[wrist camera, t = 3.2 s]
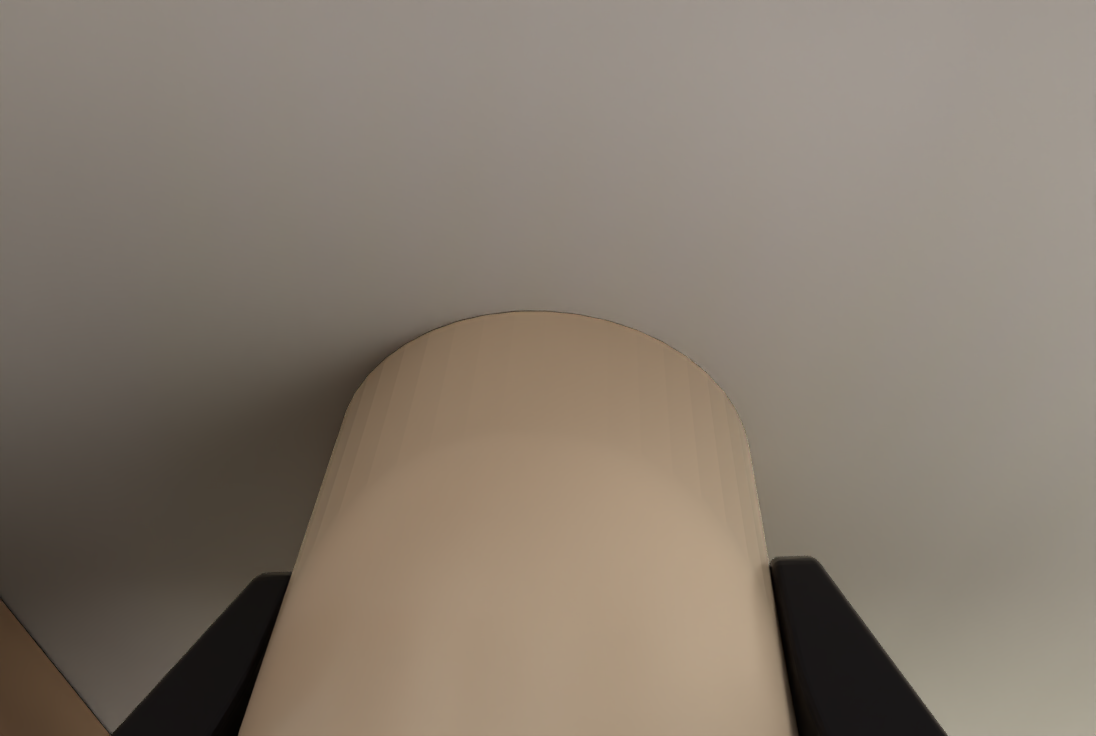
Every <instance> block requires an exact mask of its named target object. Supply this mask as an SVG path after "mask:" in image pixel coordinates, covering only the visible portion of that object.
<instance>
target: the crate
mask: <svg viewBox="0 0 1096 736" xmlns="http://www.w3.org/2000/svg"><path fill="white" fill-rule="evenodd" d="M0 736H110V734H109V733H108V732H107V731H106V729H105V728H104V727H103V726H102V724H101V723H100V722H99V721H98V719H97V718H96V717H95V716H94V714H93V713H92V712H91V711H90V710H89V708H88V707H87V706H86V705H85V703H84V702H83V701H82V700H81V698H80V697H79V696H78V695H77V693H76V692H75V691H74V690H73V688H72V687H71V686H70V685H69V683H68V682H67V681H66V680H65V678H64V677H63V676H62V675H61V674H60V672H59V671H58V670H57V669H56V667H55V666H54V665H53V664H52V662H51V661H50V660H49V659H48V657H47V656H46V655H45V654H44V652H43V651H42V650H41V649H40V647H39V646H38V645H37V644H36V643H35V641H34V640H33V639H32V638H31V636H30V635H29V634H28V633H27V631H26V630H25V629H24V628H23V626H22V625H21V624H20V623H19V621H18V620H17V619H16V618H15V616H14V615H13V614H12V613H11V611H10V610H9V609H8V608H7V607H6V605H5V604H4V603H3V602H2V600H1V599H0Z"/></svg>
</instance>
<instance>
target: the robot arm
mask: <svg viewBox="0 0 1096 736" xmlns="http://www.w3.org/2000/svg"><path fill="white" fill-rule="evenodd" d="M770 572H771V578H772V584H773V589H774V595H775V601H776V607H777V613H778V619H779V624H780V630H781V636H782V642H783V648H784V653H785V659H786V665H787V671H788V677H789V682H790V688H791V694H792V699H793V705H794V710H795V715H796V721H797V727H798V733H799V736H948V735H947V734H946V732H945V731H944V730H943V728H942V727H941V726H940V724H939V723H938V722H937V720H936V719H935V718H934V716H933V715H932V713H931V712H930V711H929V709H928V708H927V707H926V705H925V704H924V703H923V701H922V700H921V699H920V697H919V696H918V695H917V693H916V692H915V691H914V689H913V688H912V686H911V685H910V684H909V682H908V681H907V680H906V678H905V677H904V676H903V674H902V673H901V672H900V670H899V669H898V668H897V666H896V665H895V664H894V662H893V661H892V659H891V658H890V657H889V655H888V654H887V653H886V651H885V650H884V649H883V647H882V646H881V645H880V643H879V642H878V641H877V639H876V638H875V637H874V635H873V634H872V633H871V631H870V630H869V628H868V627H867V626H866V624H865V623H864V622H863V620H862V619H861V618H860V616H859V615H858V614H857V612H856V611H855V610H854V608H853V607H852V606H851V604H850V603H849V601H848V600H847V599H846V597H845V596H844V595H843V593H842V592H841V591H840V589H839V588H838V587H837V585H836V584H835V583H834V581H833V580H832V579H831V577H830V576H829V575H828V573H827V572H826V570H825V569H824V568H823V566H822V565H821V564H820V563H819V562H818V561H817V560H816V559H815V558H813V557H811V556H786V557H775V558H774V559H772V561H771V563H770ZM291 575H292V572H274V573H264V574H261V575H259V576H257V577H256V578H254V579H253V580H252V581H251V582H250V583H249V585H248V586H247V587H246V588H245V589H244V590H243V591H242V592H241V593H240V594H239V596H238V597H237V598H236V599H235V600H234V601H233V602H232V603H231V604H230V605H229V606H228V608H227V609H226V610H225V611H224V612H223V613H222V614H221V615H220V616H219V617H218V619H217V620H216V621H215V622H214V623H213V624H212V625H211V626H210V627H209V628H208V629H207V631H206V632H205V633H204V634H203V635H202V636H201V637H200V638H199V639H198V640H197V642H196V643H195V644H194V645H193V646H192V647H191V648H190V649H189V650H188V651H187V652H186V654H185V655H184V656H183V657H182V658H181V659H180V660H179V661H178V662H177V663H176V665H175V666H174V667H173V668H172V669H171V670H170V671H169V672H168V673H167V674H166V676H165V677H164V678H163V679H162V680H161V681H160V682H159V683H158V684H157V685H156V686H155V688H154V689H153V690H152V691H151V692H150V693H149V694H148V695H147V696H146V697H145V699H144V700H143V701H142V702H141V703H140V704H139V705H138V706H137V707H136V708H135V709H134V711H133V712H132V713H131V714H130V715H129V716H128V717H127V718H126V719H125V720H124V722H123V723H122V724H121V725H120V726H119V727H118V728H117V729H116V730H115V731H114V732H113V734H112V735H111V736H238V734H239V731H240V728H241V725H242V722H243V719H244V716H245V713H246V710H247V707H248V704H249V701H250V698H251V695H252V692H253V689H254V686H255V683H256V680H257V677H258V674H259V671H260V668H261V665H262V662H263V659H264V656H265V653H266V650H267V647H268V644H269V641H270V638H271V635H272V632H273V629H274V626H275V623H276V620H277V617H278V614H279V611H280V608H281V605H282V602H283V599H284V596H285V593H286V590H287V587H288V584H289V581H290V578H291Z"/></svg>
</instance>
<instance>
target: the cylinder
mask: <svg viewBox="0 0 1096 736" xmlns="http://www.w3.org/2000/svg"><path fill="white" fill-rule="evenodd" d="M238 736H799V733H798V727H797V721H796V715H795V710H794V705H793V699H792V694H791V688H790V682H789V677H788V671H787V665H786V659H785V653H784V648H783V642H782V636H781V630H780V624H779V619H778V613H777V607H776V601H775V595H774V589H773V584H772V578H771V572H770V564H769V559H768V553H767V547H766V541H765V535H764V530H763V524H762V518H761V512H760V506H759V501H758V495H757V489H756V483H755V477H754V472H753V466H752V460H751V454H750V449H749V445H748V440H747V436H746V432H745V429H744V427H743V424H742V422H741V420H740V418H739V415H738V413H737V411H736V409H735V408H734V406H733V405H732V403H731V402H730V400H729V399H728V397H727V396H726V394H725V393H724V391H723V390H722V389H721V388H720V387H719V386H718V385H717V384H716V382H715V381H714V380H713V379H712V378H711V377H710V376H709V375H708V374H707V373H706V372H705V371H704V370H702V369H701V368H700V367H699V366H698V365H696V364H695V363H694V362H693V361H691V360H690V359H689V358H688V357H686V356H685V355H683V354H682V353H680V352H678V351H677V350H675V349H673V348H672V347H670V346H668V345H667V344H665V343H664V342H662V341H659V340H657V339H655V338H653V337H651V336H648V335H646V334H644V333H642V332H640V331H638V330H635V329H632V328H629V327H626V326H623V325H620V324H616V323H613V322H610V321H607V320H602V319H597V318H592V317H588V316H583V315H578V314H568V313H558V312H548V311H534V312H508V313H500V314H491V315H484V316H480V317H475V318H471V319H467V320H463V321H458V322H455V323H452V324H449V325H447V326H444V327H441V328H438V329H436V330H433V331H430V332H428V333H426V334H424V335H422V336H420V337H418V338H416V339H414V340H413V341H411V342H409V343H407V344H405V345H404V346H402V347H401V348H399V349H398V350H397V351H395V352H394V353H392V354H391V355H389V356H388V357H387V358H385V359H384V360H383V361H382V362H381V363H380V364H379V365H378V366H377V367H376V368H375V369H374V370H373V371H372V372H371V373H370V374H369V375H368V376H367V377H366V379H365V380H364V381H363V383H362V384H361V385H360V387H359V388H358V389H357V391H356V392H355V394H354V396H353V398H352V400H351V402H350V404H349V406H348V408H347V410H346V413H345V416H344V419H343V422H342V425H341V428H340V431H339V434H338V437H337V440H336V443H335V446H334V449H333V452H332V455H331V458H330V461H329V464H328V467H327V470H326V473H325V476H324V479H323V482H322V485H321V488H320V491H319V494H318V497H317V500H316V503H315V506H314V509H313V512H312V515H311V518H310V521H309V524H308V527H307V530H306V533H305V536H304V539H303V542H302V545H301V548H300V551H299V554H298V557H297V560H296V563H295V566H294V569H293V572H292V575H291V578H290V581H289V584H288V587H287V590H286V593H285V596H284V599H283V602H282V605H281V608H280V611H279V614H278V617H277V620H276V623H275V626H274V629H273V632H272V635H271V638H270V641H269V644H268V647H267V650H266V653H265V656H264V659H263V662H262V665H261V668H260V671H259V674H258V677H257V680H256V683H255V686H254V689H253V692H252V695H251V698H250V701H249V704H248V707H247V710H246V713H245V716H244V719H243V722H242V725H241V728H240V731H239V734H238Z"/></svg>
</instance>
